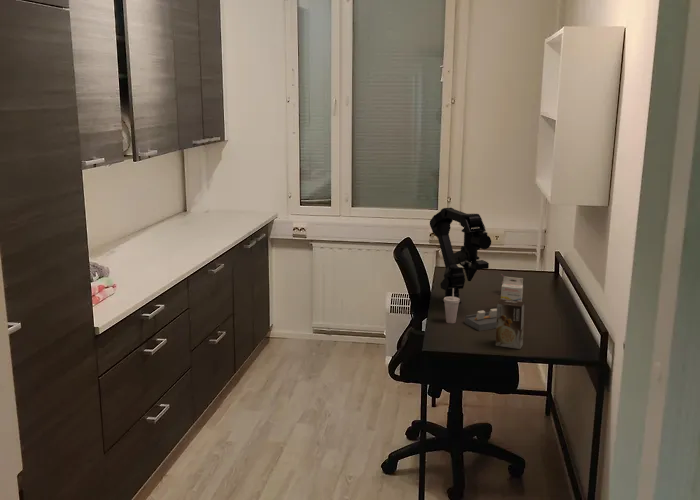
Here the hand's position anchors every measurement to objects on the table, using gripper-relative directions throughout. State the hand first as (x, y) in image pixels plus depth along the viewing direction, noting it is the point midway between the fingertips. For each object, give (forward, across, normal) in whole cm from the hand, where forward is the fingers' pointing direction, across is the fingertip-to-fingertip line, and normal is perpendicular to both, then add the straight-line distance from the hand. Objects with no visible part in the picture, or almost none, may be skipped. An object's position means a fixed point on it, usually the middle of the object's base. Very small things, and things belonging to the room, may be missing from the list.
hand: (469, 281), depth 281 cm
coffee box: (+13, +39, -8) cm, 42 cm away
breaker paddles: (+10, +18, 0) cm, 20 cm away
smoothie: (+13, +9, -14) cm, 21 cm away
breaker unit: (+13, +18, 0) cm, 22 cm away
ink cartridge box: (+13, +9, +15) cm, 22 cm away
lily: (+13, -11, +29) cm, 34 cm away
